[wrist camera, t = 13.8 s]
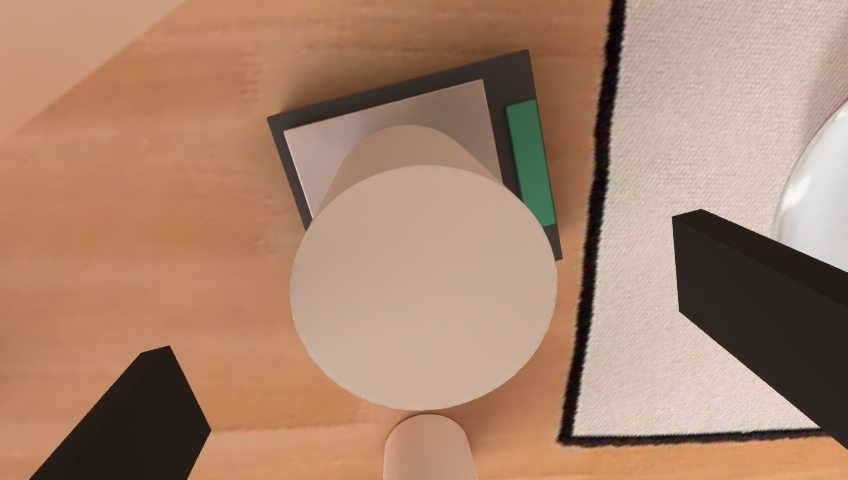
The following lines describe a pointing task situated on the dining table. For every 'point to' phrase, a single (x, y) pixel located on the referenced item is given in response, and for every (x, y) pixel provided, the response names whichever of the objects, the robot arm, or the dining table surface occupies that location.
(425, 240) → the white cylinder
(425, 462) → the mug
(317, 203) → the scale pan
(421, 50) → the dining table surface
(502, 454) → the dining table surface
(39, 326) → the dining table surface
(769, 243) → the robot arm
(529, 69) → the scale
